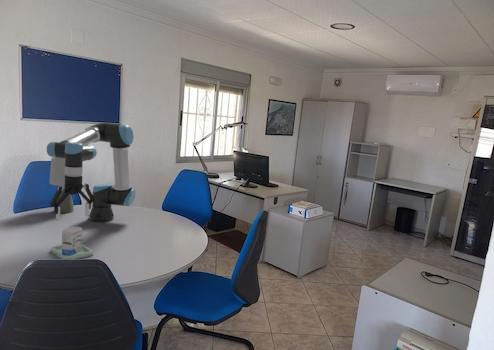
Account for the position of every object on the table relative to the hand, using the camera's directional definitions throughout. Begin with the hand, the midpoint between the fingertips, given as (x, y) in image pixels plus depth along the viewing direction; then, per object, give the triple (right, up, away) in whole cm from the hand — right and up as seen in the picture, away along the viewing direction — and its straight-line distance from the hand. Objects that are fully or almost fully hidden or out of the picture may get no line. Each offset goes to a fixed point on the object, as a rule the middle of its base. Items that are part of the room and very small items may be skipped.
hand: (73, 217), depth 164 cm
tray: (-2, -18, +2) cm, 18 cm away
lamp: (-41, -4, +68) cm, 79 cm away
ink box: (-2, -17, +2) cm, 18 cm away
